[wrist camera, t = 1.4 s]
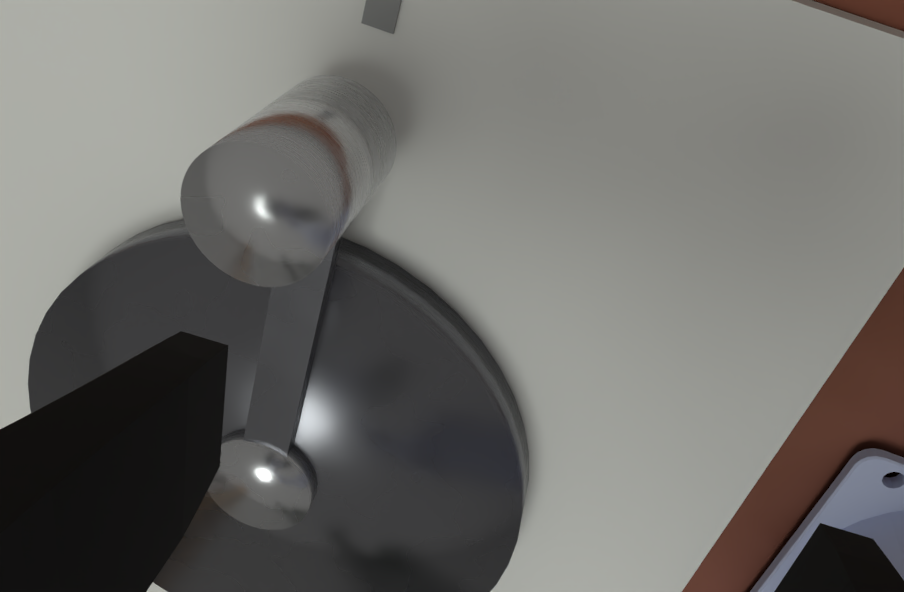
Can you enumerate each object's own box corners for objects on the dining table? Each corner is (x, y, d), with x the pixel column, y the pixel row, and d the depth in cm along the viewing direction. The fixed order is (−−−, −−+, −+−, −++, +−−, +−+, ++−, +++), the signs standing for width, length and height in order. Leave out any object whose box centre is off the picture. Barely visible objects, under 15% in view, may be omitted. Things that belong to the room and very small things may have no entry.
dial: (450, 665, 27) (407, 839, 22) (57, 515, 27) (-64, 654, 23) (684, 171, 17) (693, 299, 12) (65, -46, 18) (-144, -1, 13)
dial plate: (1010, 68, 16) (1032, 82, 15) (539, 777, 31) (535, 807, 30) (-212, -348, 17) (-263, -359, 16) (-92, 533, 32) (-115, 554, 31)
